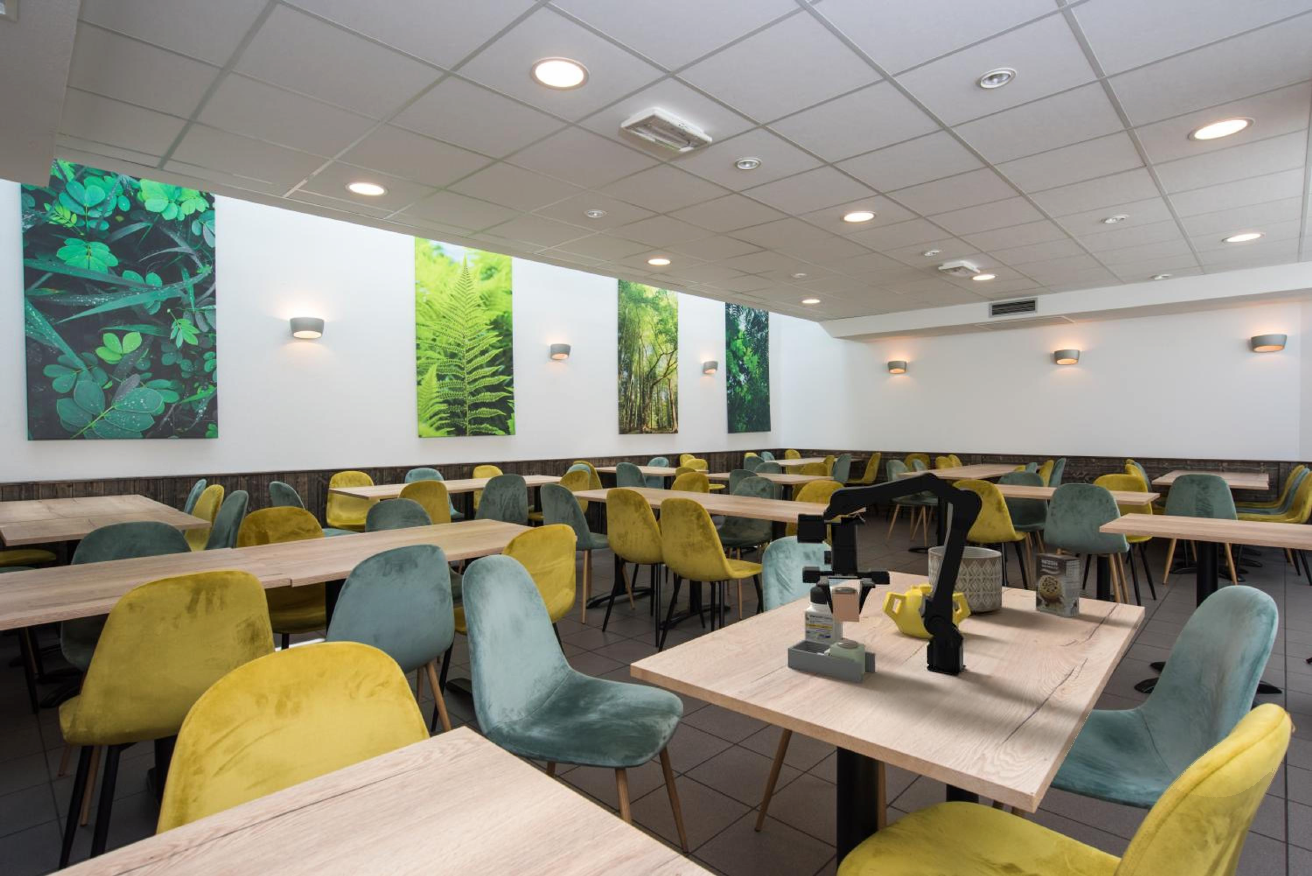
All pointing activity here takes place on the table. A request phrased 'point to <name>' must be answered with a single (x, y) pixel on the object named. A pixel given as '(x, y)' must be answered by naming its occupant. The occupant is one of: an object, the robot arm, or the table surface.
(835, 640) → the container
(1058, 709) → the table surface
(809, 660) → the lane
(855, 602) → the orange block with dome
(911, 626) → the teapot
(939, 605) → the robot arm
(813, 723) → the table surface
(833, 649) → the sage jar
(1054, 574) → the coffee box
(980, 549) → the planter
